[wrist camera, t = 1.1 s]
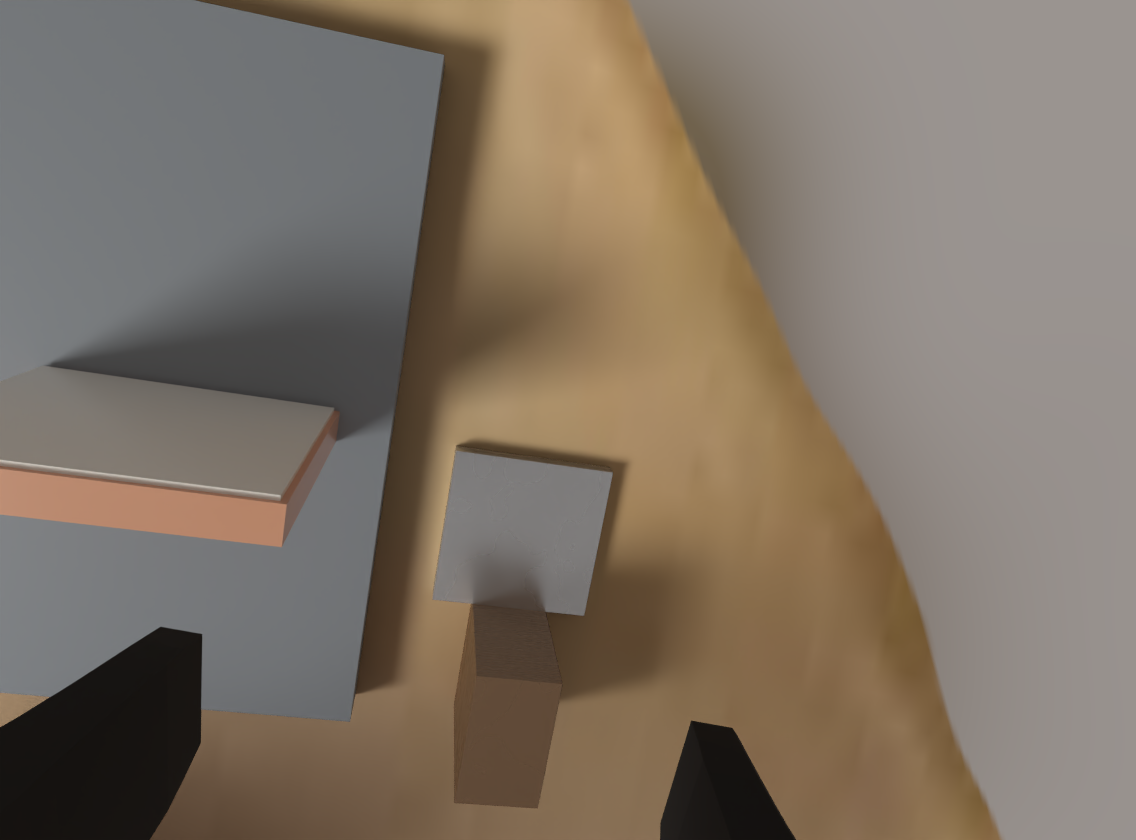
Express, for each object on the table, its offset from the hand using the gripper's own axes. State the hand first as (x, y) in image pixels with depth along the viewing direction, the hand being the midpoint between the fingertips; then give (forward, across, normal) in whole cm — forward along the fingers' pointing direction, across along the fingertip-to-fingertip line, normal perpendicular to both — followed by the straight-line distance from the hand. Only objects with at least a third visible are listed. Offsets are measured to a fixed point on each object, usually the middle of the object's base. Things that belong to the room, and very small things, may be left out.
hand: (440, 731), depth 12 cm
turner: (+14, 0, +7) cm, 16 cm away
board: (+13, +12, +1) cm, 18 cm away
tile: (+8, +9, +1) cm, 12 cm away
